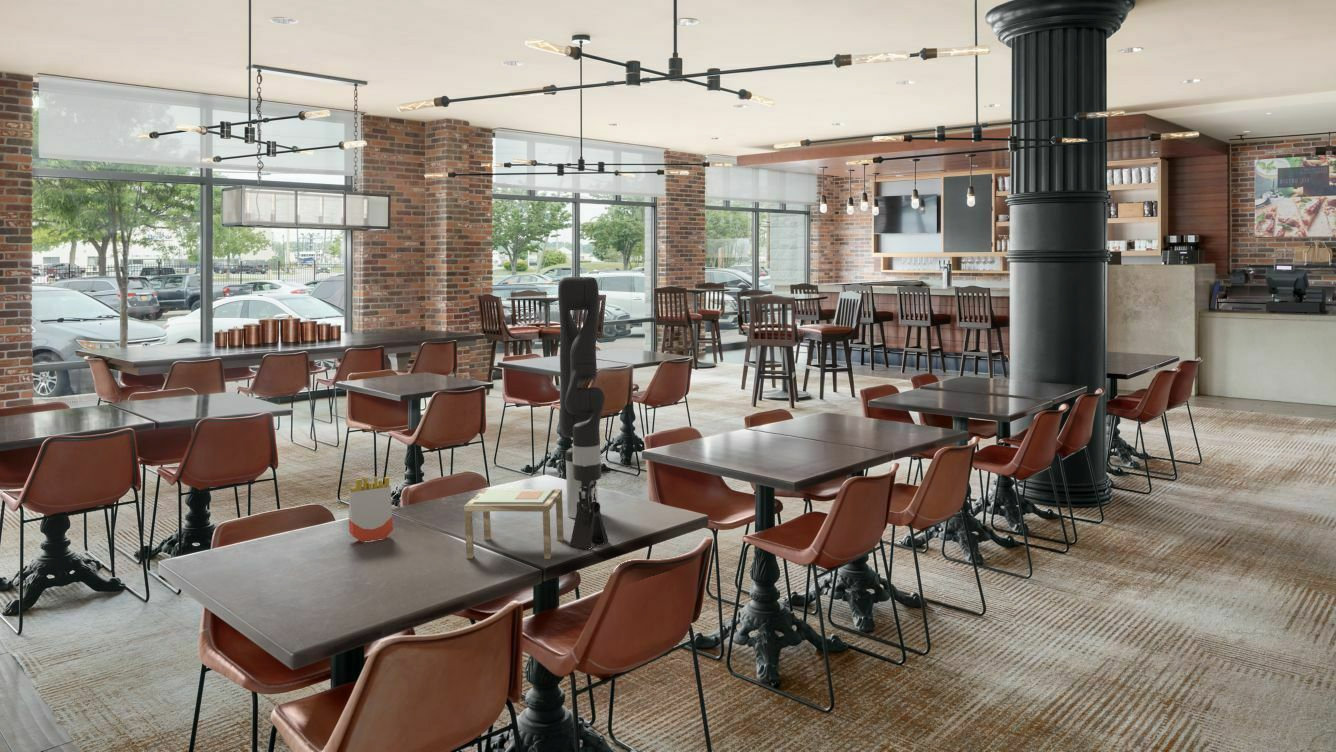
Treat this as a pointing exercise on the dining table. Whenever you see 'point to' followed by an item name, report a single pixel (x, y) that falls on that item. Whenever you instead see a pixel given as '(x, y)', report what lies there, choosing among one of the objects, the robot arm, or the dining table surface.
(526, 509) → the miniature wooden table
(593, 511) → the black a-frame stand
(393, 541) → the dining table surface
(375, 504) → the french fries container
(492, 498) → the pale green book
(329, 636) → the dining table surface
